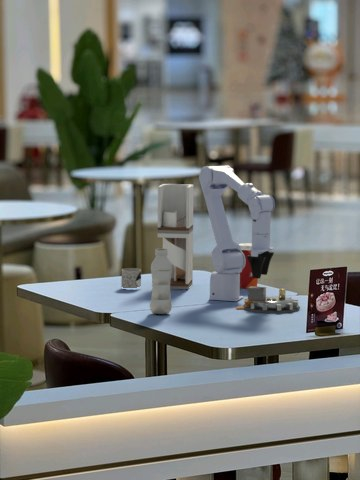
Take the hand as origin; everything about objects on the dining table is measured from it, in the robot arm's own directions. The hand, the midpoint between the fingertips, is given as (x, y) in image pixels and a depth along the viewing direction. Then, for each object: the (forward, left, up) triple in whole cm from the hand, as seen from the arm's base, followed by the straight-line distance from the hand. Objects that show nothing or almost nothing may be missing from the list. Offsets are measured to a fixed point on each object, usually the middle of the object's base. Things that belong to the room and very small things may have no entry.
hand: (260, 276), depth 387 cm
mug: (-50, +18, -10) cm, 54 cm away
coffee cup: (-13, +34, -10) cm, 38 cm away
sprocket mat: (+4, 0, -10) cm, 11 cm away
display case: (-37, +26, -10) cm, 46 cm away
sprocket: (+4, 0, -10) cm, 11 cm away
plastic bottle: (-25, -22, -10) cm, 35 cm away
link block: (0, -3, -7) cm, 8 cm away
